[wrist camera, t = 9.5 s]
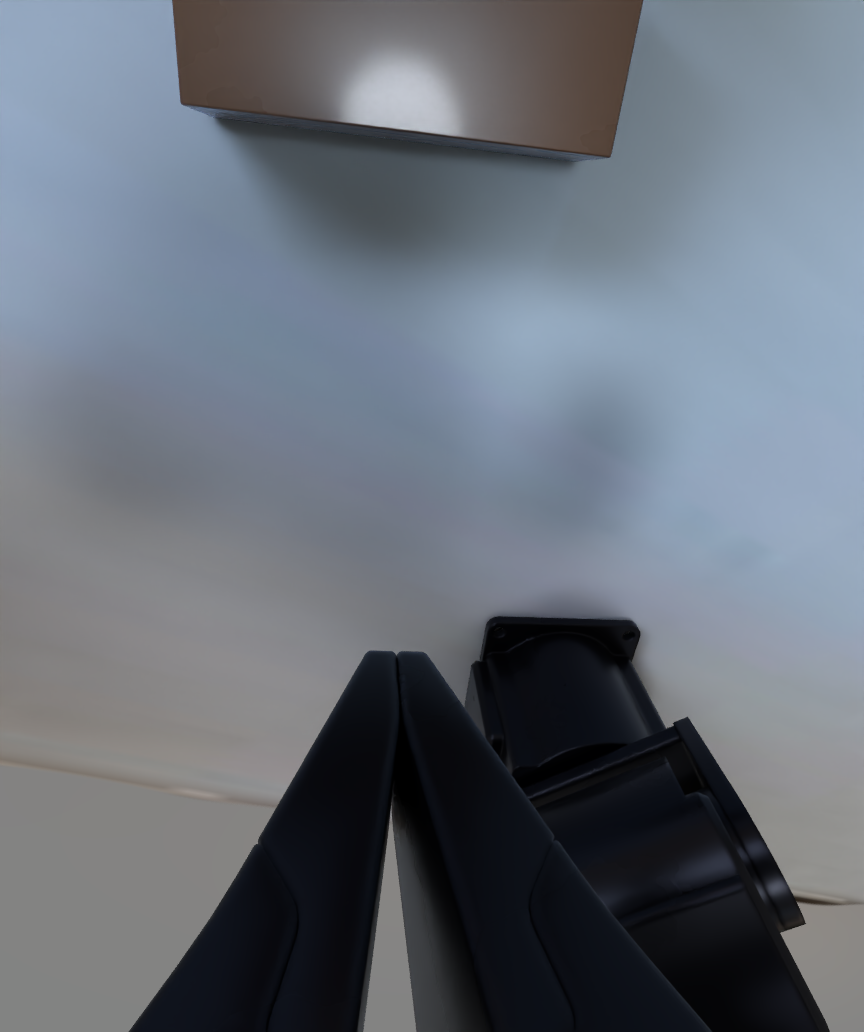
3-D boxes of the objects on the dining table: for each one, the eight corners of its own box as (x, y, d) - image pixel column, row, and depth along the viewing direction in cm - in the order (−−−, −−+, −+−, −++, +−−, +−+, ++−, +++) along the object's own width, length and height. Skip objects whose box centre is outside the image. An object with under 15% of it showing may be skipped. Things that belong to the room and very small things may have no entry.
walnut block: (609, -21, 15) (657, -63, 13) (575, 161, 17) (611, 157, 15) (200, -86, 14) (159, -148, 12) (212, 117, 16) (180, 104, 13)
